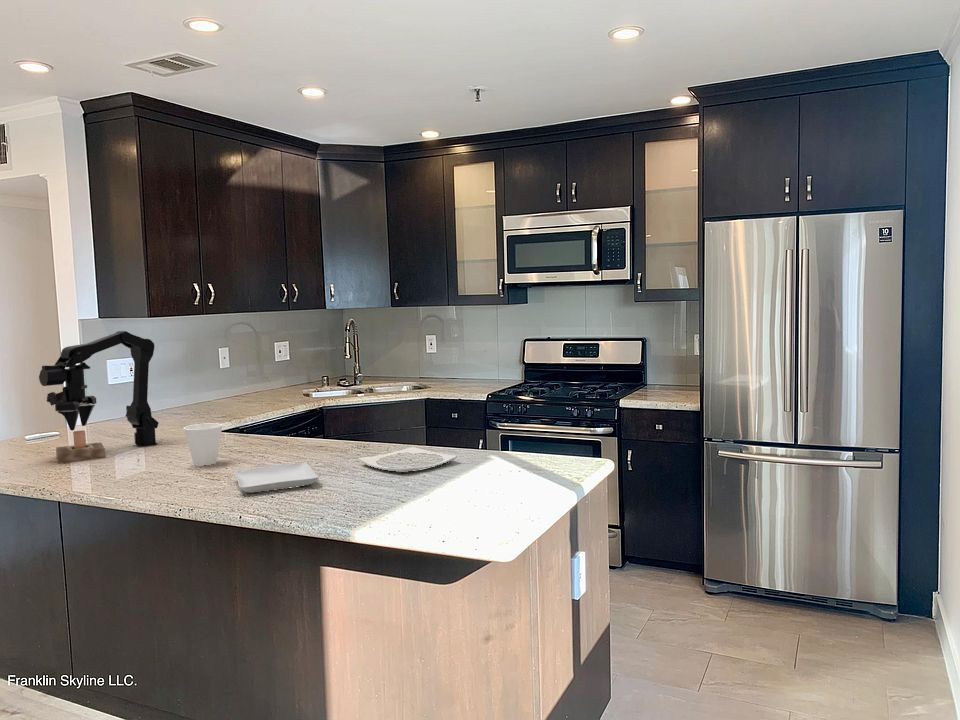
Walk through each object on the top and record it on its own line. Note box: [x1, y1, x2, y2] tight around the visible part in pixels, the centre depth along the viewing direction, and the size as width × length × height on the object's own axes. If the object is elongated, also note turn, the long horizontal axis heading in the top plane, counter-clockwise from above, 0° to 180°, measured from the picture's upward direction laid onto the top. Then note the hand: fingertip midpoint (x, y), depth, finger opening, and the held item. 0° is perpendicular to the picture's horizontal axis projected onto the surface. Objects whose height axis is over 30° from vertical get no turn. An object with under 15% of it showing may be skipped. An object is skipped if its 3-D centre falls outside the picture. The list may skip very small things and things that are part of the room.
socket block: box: [55, 441, 106, 464], centre depth 246 cm, size 14×14×4 cm
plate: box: [358, 446, 458, 473], centre depth 222 cm, size 24×24×3 cm
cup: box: [183, 422, 223, 467], centre depth 229 cm, size 12×12×12 cm
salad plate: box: [232, 461, 320, 494], centre depth 202 cm, size 21×21×3 cm
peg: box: [72, 429, 87, 449], centre depth 246 cm, size 4×4×9 cm
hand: (78, 428), depth 245 cm, fingers open, 9 cm apart
